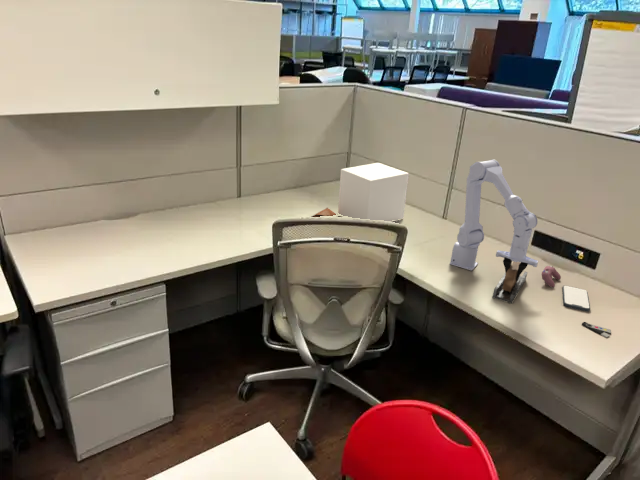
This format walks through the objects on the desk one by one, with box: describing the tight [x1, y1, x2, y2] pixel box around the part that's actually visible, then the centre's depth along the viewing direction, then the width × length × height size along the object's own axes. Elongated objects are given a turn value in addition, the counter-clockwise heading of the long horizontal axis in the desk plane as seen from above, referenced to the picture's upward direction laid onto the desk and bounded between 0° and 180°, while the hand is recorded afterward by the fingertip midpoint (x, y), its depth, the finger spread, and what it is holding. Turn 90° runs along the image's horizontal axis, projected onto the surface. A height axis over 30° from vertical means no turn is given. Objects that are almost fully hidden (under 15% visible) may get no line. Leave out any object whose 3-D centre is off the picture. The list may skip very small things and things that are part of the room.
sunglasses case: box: [310, 207, 337, 217], centre depth 240 cm, size 18×7×7 cm
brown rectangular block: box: [502, 261, 521, 292], centre depth 182 cm, size 3×12×7 cm, turn 147°
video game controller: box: [541, 265, 562, 288], centre depth 191 cm, size 10×5×7 cm, turn 141°
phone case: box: [561, 285, 591, 313], centre depth 180 cm, size 9×2×16 cm
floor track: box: [492, 271, 529, 304], centre depth 184 cm, size 7×22×4 cm, turn 147°
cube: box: [337, 162, 410, 221], centre depth 241 cm, size 25×21×24 cm
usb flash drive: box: [581, 321, 612, 339], centre depth 162 cm, size 9×5×1 cm, turn 33°
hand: (511, 278), depth 183 cm, fingers closed on brown rectangular block, 3 cm apart
